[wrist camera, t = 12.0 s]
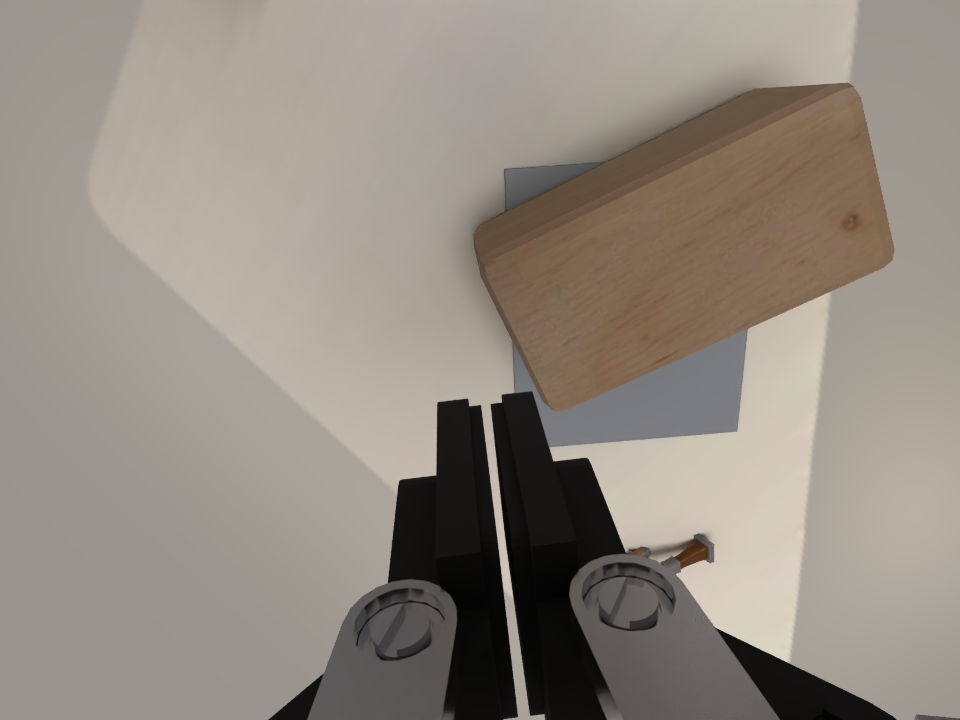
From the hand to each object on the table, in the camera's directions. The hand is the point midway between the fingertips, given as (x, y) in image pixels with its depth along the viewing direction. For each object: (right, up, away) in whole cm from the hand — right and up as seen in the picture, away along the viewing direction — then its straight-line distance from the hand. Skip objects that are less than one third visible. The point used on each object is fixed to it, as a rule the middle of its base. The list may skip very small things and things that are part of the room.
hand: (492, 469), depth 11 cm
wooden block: (+1, +4, +26) cm, 27 cm away
